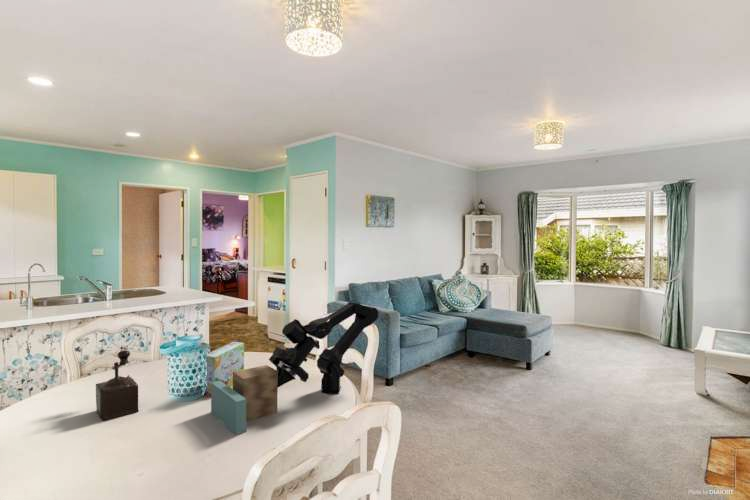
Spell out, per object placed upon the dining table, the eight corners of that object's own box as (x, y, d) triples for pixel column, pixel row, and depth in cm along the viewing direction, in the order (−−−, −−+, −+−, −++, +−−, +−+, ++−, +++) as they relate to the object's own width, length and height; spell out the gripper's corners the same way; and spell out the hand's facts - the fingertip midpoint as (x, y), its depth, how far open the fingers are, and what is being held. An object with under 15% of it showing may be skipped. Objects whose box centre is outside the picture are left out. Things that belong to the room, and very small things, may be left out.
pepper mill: (141, 411, 135) (141, 358, 135) (101, 421, 128) (101, 365, 127) (129, 397, 146) (129, 347, 146) (92, 406, 139) (91, 353, 138)
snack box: (214, 398, 148) (214, 356, 147) (200, 396, 149) (200, 355, 148) (244, 378, 169) (245, 341, 168) (232, 376, 170) (232, 340, 169)
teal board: (220, 409, 138) (220, 380, 138) (246, 431, 123) (246, 399, 123) (211, 412, 136) (211, 382, 136) (236, 434, 121) (236, 401, 121)
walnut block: (266, 404, 143) (266, 365, 142) (277, 412, 137) (277, 371, 136) (232, 414, 135) (232, 372, 134) (242, 422, 129) (243, 378, 128)
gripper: (274, 332, 150) (244, 368, 143) (301, 343, 136) (270, 383, 129) (292, 350, 155) (265, 385, 148) (320, 362, 141) (292, 402, 134)
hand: (272, 388), depth 140 cm, fingers closed, pressing on walnut block
